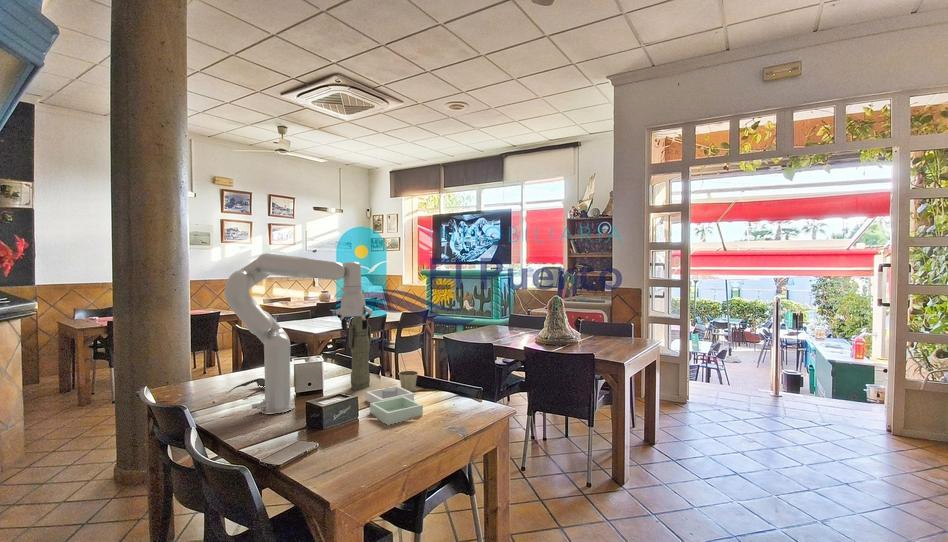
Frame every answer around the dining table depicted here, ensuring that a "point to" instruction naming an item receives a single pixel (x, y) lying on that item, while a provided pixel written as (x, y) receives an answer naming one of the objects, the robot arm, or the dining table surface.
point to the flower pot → (408, 380)
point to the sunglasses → (259, 381)
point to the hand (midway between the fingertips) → (354, 329)
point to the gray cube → (389, 393)
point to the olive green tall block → (359, 353)
